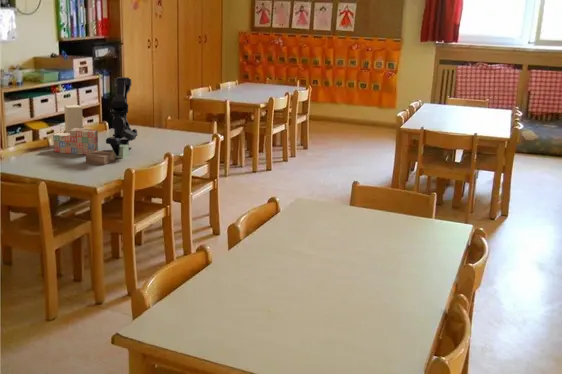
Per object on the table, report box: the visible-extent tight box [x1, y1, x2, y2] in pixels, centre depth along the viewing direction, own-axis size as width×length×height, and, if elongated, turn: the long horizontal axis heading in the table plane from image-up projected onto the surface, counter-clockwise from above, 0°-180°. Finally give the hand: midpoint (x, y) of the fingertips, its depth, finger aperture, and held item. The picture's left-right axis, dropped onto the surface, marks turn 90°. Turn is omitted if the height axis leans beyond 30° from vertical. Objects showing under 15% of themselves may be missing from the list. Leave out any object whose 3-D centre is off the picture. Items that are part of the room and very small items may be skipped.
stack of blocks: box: [52, 128, 99, 155], centre depth 313 cm, size 21×6×12 cm, turn 87°
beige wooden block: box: [63, 104, 84, 134], centre depth 328 cm, size 8×7×21 cm
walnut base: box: [85, 150, 116, 166], centre depth 300 cm, size 10×10×4 cm
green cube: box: [111, 144, 130, 159], centre depth 311 cm, size 6×6×6 cm
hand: (120, 154), depth 311 cm, fingers open, 6 cm apart
